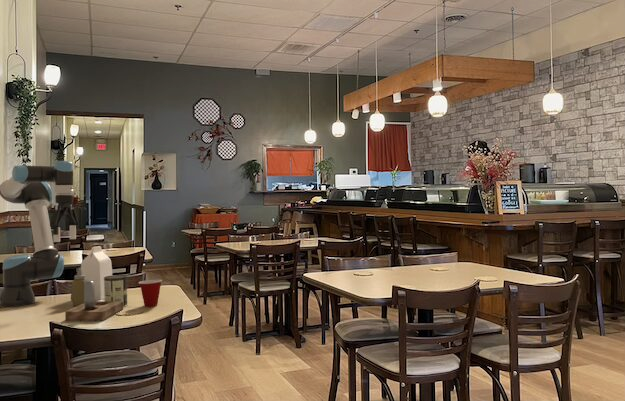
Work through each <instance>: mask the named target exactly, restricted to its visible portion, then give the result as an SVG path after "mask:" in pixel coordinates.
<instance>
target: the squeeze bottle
mask: <svg viewBox="0 0 625 401" xmlns="http://www.w3.org/2000/svg"><path fill="white" fill-rule="evenodd" d="M85 281H87V280H86V279H85V275H83V274H82V270H81V267H78V268H77V272H76V274H75V275H74V279H73V280H72V282H71V291H70V301H71V303H72V306H73V307H77V306H79V305H81V304H84V282H85Z"/></svg>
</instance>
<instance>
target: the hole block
mask: <svg viewBox="0 0 625 401" xmlns="http://www.w3.org/2000/svg"><path fill="white" fill-rule="evenodd" d="M122 310H123V311H124V307H123V302H121V301H105V300H103V301H102V300H95V310H93V311H88V310H85V305H84V304H81V305H79V306H74V307H72V308H70V309H68V310H66V311H64V314H65V318H64V321H65V322H104V321H106V320H108V319H110V318H111V317H113V316H115V315H117V314H118V312H119V313H121V312H123V311H122ZM120 311H121V312H120ZM116 313H117V314H116Z"/></svg>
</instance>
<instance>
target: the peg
mask: <svg viewBox="0 0 625 401" xmlns="http://www.w3.org/2000/svg"><path fill="white" fill-rule="evenodd" d="M95 301H96V300H95V293H94V281H85V282H84V305H85V310H88V311H93V310H95Z"/></svg>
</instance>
